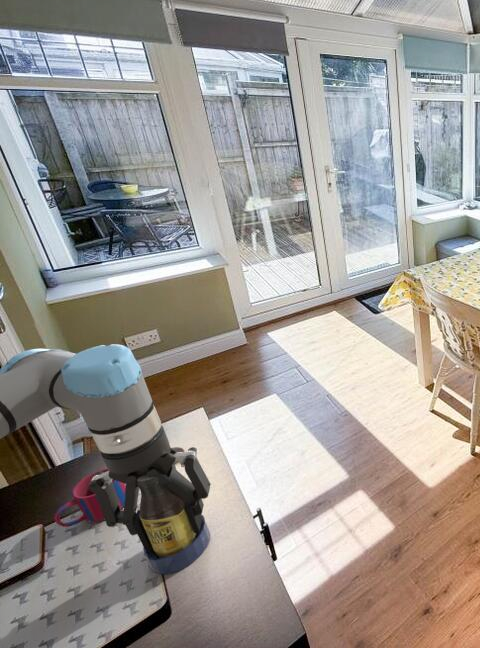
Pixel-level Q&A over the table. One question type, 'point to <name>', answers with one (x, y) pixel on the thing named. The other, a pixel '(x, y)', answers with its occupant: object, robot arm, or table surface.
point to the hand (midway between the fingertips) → (174, 533)
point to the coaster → (177, 452)
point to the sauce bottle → (164, 517)
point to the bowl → (180, 554)
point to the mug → (89, 501)
